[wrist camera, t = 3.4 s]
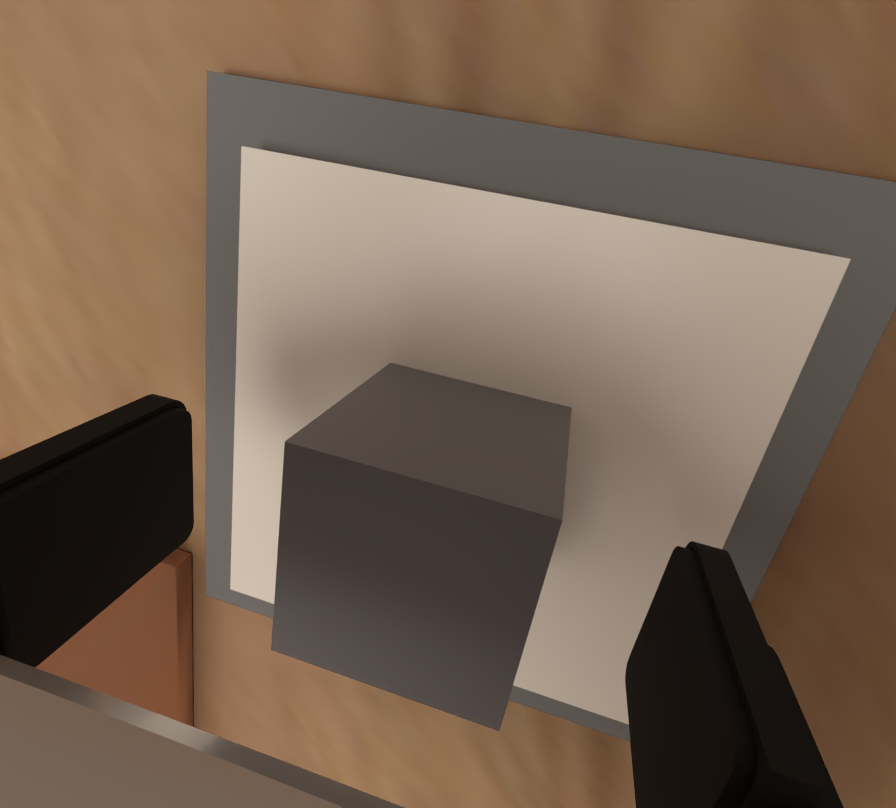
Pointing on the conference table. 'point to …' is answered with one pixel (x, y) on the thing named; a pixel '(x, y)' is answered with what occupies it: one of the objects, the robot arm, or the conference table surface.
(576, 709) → the mat
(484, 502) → the cover
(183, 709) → the open box
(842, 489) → the conference table surface
